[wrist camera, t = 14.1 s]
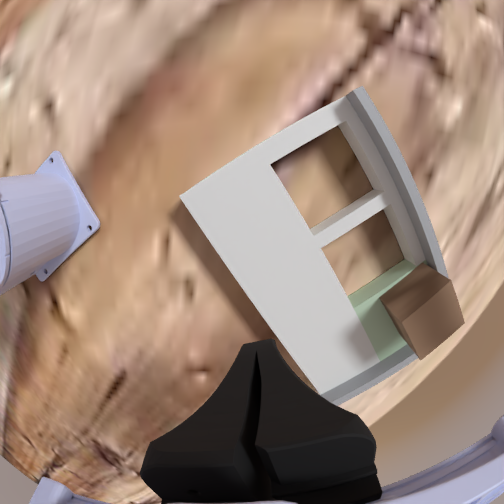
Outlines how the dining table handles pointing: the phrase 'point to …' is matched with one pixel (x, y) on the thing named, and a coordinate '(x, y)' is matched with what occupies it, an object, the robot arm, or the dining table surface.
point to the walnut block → (423, 309)
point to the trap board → (319, 249)
